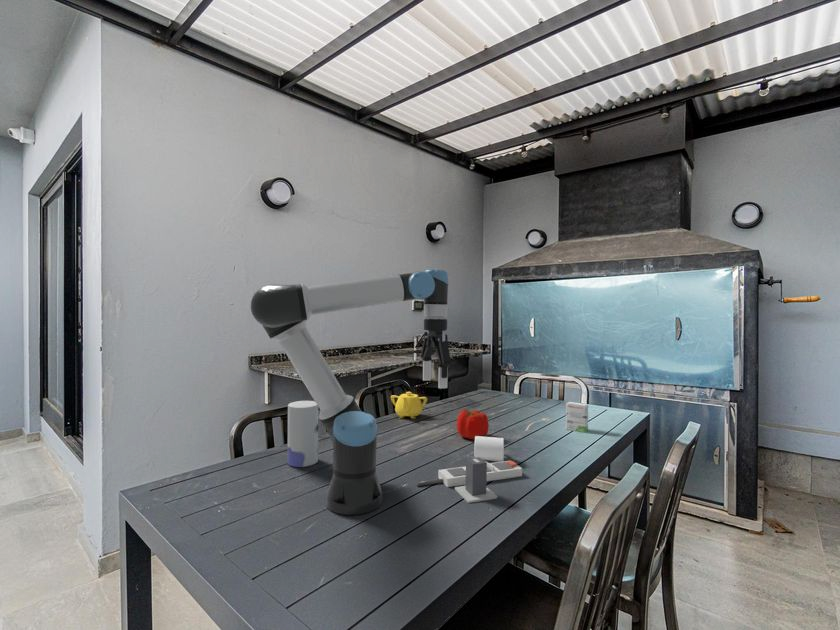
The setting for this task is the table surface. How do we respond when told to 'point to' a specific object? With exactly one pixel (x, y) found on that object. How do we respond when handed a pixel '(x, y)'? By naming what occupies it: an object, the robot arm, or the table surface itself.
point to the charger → (476, 476)
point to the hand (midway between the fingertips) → (434, 384)
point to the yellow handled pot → (408, 404)
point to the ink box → (577, 417)
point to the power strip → (493, 473)
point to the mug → (489, 448)
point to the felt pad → (470, 498)
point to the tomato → (472, 424)
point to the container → (302, 433)
